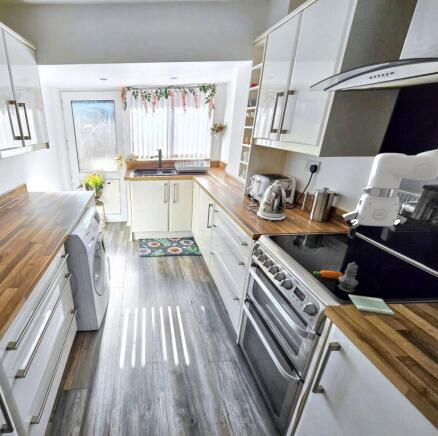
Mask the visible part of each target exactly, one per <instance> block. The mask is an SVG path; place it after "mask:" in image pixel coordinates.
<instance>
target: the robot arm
mask: <svg viewBox="0 0 438 436" xmlns="http://www.w3.org/2000/svg"><path fill="white" fill-rule="evenodd" d="M437 178H438V148H437V149H432V150H427V151H424V152H420V153H417V154H416V155H407V154H405V153H399V152H398V153H397V152H383V153H379V154H377V155H376V156H375V158H374V159H373V163H372V167H371V171H370V175H369V178H368V181H367V184H366V187H363V188H361V189H360V191H361V193H363V194H362V195H361V197H360V198H359V200H358V203H357V206H356V208H355V210H354V211H351V212H348V213H345V214H343V215H342V218H343V221H344V222H345V224H346V225H347V226H348V229H347V233H346V234H347V236H348V238H350V239H351V240H355V238H356V234H357V231H358V230H357V227H359V226H367V227H368V226H370V227H383V229H382V232H381V235H380V238H381V239H382V240H383V241H384V242H389V240H390V239H391V237H392V234H393V232H395V231H396V229H398V228H400V227H401V226H402V225H404V223H405V222H406V221H407V220H408V219H407V218H406V217H404V216H403V215H400V214H399V209H400V197H399V196H397V195H398V191H399V189H400V186H401V182H402V179H405V180H410V181H417V182H427V181H431V180H434V179H437ZM350 218H353V219H352V220H350Z"/></svg>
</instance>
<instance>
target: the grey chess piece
mask: <svg viewBox="0 0 438 436" xmlns="http://www.w3.org/2000/svg"><path fill="white" fill-rule="evenodd" d="M358 269H359V266H358V264H356V262H355V261H353V262H348V264H347V267H346V269H345V270H344V274H343V275H344V276H340V277H339V279H338V281H339V283H338V284H337V288H338V287H339V288H338V289H339V290H341V291H343V292H346V293H354V292H355V288H356V287H357V285H359V281H357V280H356V279H355V277H356V276H357V275H358V273H357V271H358Z"/></svg>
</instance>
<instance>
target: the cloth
mask: <svg viewBox="0 0 438 436" xmlns="http://www.w3.org/2000/svg"><path fill="white" fill-rule="evenodd" d="M348 297H349V299H350V301H352V303H353V305H354V306H355V307H356V309H357V310H358V311H363V312H370V313H376V314H382V315H390V316H395V315H396V314H395V312H394V311H393V310H392V309H391V307H389V306H388V305H387V303H386V302H385V301H384V300H383V299H382V298H379V297H370V296H365V295H356V294H350V293H348Z"/></svg>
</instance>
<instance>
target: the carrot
mask: <svg viewBox="0 0 438 436" xmlns="http://www.w3.org/2000/svg"><path fill="white" fill-rule="evenodd" d="M312 273H313V275H315V276H316V275H317V276H321V277H322V278H324V279H332V280H339V277H340V276H344V275H345V274H343V272H340V271H335V270H334V271H333V270H325V269H323V270H321V271H315V270H313V271H312Z"/></svg>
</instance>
